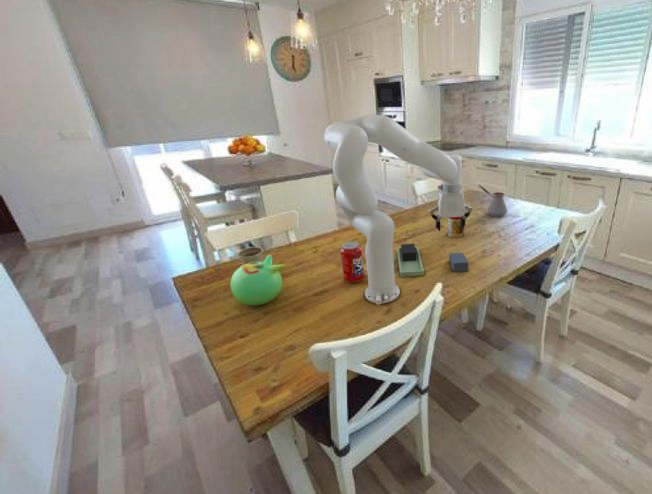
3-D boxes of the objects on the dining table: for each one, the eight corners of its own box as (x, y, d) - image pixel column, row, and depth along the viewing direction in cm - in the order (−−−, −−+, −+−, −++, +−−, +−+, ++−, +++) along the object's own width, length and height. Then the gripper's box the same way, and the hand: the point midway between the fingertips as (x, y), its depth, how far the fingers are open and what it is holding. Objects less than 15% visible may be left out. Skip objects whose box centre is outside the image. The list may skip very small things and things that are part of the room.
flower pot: (267, 262, 140) (263, 245, 136) (266, 273, 132) (262, 254, 128) (243, 267, 137) (239, 249, 133) (241, 277, 129) (236, 258, 125)
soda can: (342, 275, 129) (338, 242, 123) (362, 272, 131) (358, 239, 125) (345, 285, 122) (341, 250, 116) (366, 281, 125) (362, 247, 118)
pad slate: (467, 270, 131) (468, 262, 129) (453, 272, 130) (453, 263, 129) (462, 260, 139) (463, 252, 137) (449, 261, 138) (449, 253, 137)
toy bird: (229, 298, 116) (218, 262, 110) (276, 280, 127) (268, 247, 121) (246, 321, 104) (235, 282, 98) (296, 299, 115) (288, 263, 109)
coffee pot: (510, 215, 189) (513, 190, 183) (498, 219, 183) (500, 194, 176) (483, 206, 204) (484, 183, 198) (470, 210, 198) (472, 186, 192)
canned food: (466, 236, 162) (467, 214, 157) (452, 238, 160) (452, 216, 155) (458, 230, 169) (459, 209, 164) (445, 233, 166) (445, 211, 161)
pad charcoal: (416, 260, 139) (416, 252, 137) (402, 261, 138) (402, 253, 136) (414, 251, 147) (414, 243, 145) (401, 252, 146) (400, 244, 145)
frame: (424, 275, 128) (424, 270, 128) (400, 277, 127) (400, 272, 127) (417, 250, 149) (417, 246, 148) (397, 251, 148) (397, 247, 147)
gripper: (430, 192, 118) (430, 234, 125) (475, 189, 120) (473, 230, 127) (427, 186, 125) (427, 226, 132) (470, 183, 127) (468, 223, 134)
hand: (450, 228), depth 130 cm, fingers open, 9 cm apart
